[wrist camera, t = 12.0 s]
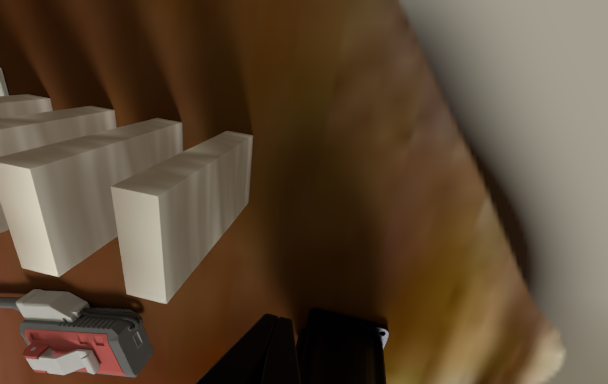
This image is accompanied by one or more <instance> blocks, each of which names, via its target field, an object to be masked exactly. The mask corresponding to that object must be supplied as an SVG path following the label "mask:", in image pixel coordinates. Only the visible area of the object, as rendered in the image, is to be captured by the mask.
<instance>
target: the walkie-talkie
mask: <svg viewBox="0 0 608 384" xmlns="http://www.w3.org/2000/svg"><path fill="white" fill-rule="evenodd" d="M0 308H14V309H15V310H20V312H21V313H22V315H23V317H24V318H25V321H23V322H22V323H21V324H20V334H21V335H22V337H23V338H24V340H25V341H26V343H27V345H28V347H27V348H26V349H25V350H24V352H23V355H24V356H25V358H26V359H27V361H28V362H29V364H30V366H31V367H32V369H33V370H34V371H35V372H42V373H46V372H48V373H51V374H60V375H66V374H68V373H71V372H74V371H76V372H87V373H91V374H95V373H97V374H106V375H115V376H125V377H126V376H127V377H136V376H137V375H138V374H139V372H140V371H141V370H142V368H143V367H144V366H145V364H146V363H147V361H148V360H149V359H150V357H151V356H152V354H153V353H154V351H153V349H152V346H151V344H150V342H149V339H148V337H147V335H146V332H145V330H144V328H143V325H142V323H143V322H142V318H141V316H139V315H138V314H137V313H135V312H134V311H132V310H131V309H129V310H126V309H116V308H115V309H112V308H110V309H108V308H98V307H96V308H93V307H91V308H90V306H89V304H88V302H86V301H84V300H83V299H81V298H79V297H77V296H75V295H73V294H72V293H70V292H65V291H43V290H41V289H34V290H32V291H31V292H29V293H28V294H26V295H25V296H21V297H19V298H17V297H0Z"/></svg>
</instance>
